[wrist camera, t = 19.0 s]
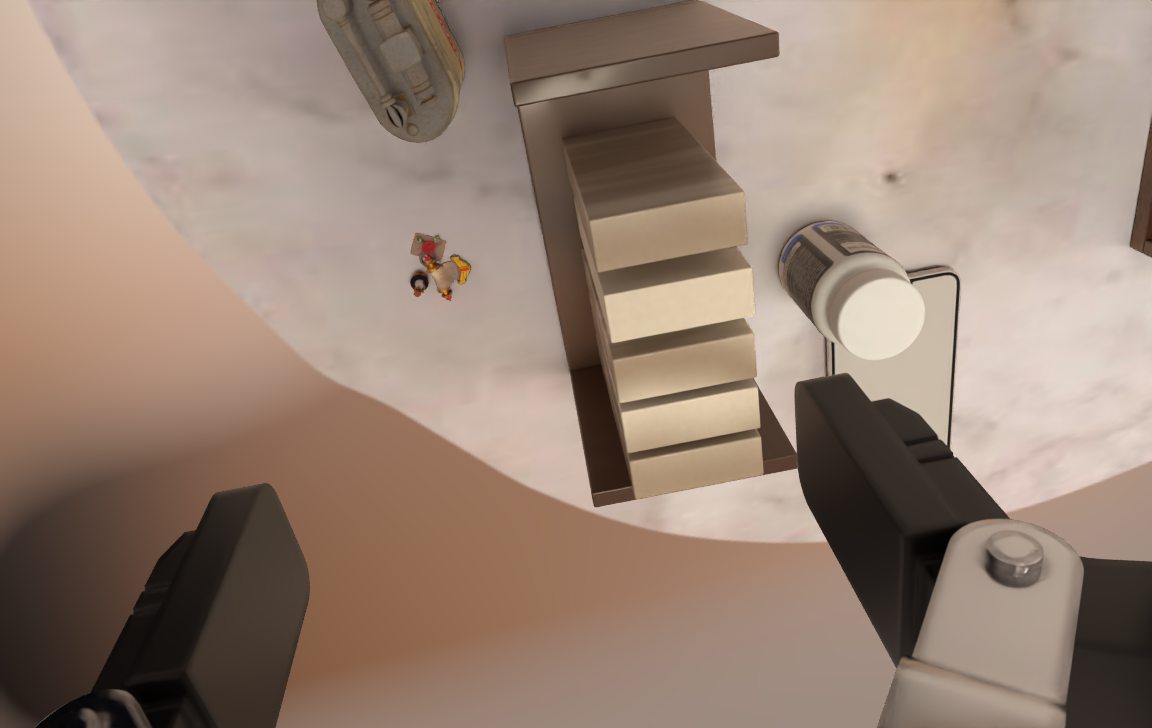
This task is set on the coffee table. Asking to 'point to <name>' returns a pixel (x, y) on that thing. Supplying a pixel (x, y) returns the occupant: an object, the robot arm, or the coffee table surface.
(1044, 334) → the coffee table surface
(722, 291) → the beige box
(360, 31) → the lighter
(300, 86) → the coffee table surface
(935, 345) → the smartphone
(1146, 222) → the brown book rack
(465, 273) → the diorama
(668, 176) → the wooden book rack
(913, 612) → the robot arm
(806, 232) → the pill bottle
